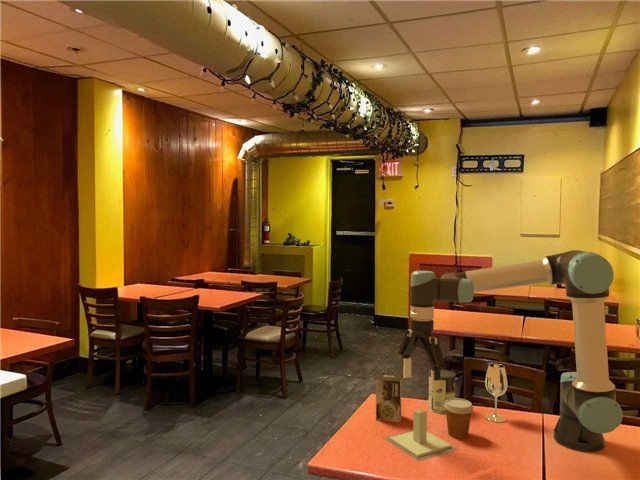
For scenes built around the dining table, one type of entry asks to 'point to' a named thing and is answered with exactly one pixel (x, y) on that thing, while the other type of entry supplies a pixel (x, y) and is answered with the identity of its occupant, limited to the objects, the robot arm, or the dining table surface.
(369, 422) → the dining table surface
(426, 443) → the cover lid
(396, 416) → the coffee box
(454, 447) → the rubber mat
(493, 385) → the wineglass
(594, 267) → the robot arm
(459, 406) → the disposable coffee cup
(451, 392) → the coffee can
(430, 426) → the dining table surface
